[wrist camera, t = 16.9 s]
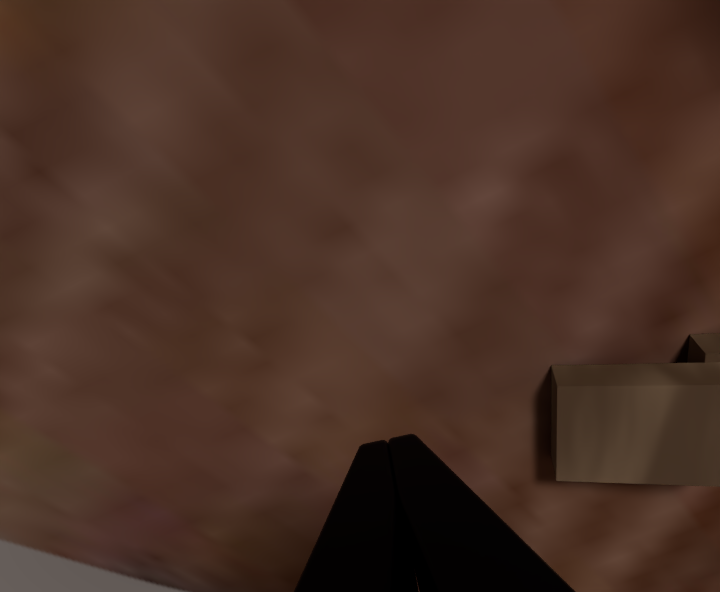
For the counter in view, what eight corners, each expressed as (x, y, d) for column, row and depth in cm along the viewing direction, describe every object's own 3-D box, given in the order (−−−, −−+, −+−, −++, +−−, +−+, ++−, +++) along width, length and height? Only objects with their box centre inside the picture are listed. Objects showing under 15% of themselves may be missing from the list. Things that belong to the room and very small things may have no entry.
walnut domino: (551, 365, 21) (766, 361, 19) (550, 455, 23) (746, 460, 21) (557, 386, 20) (790, 384, 18) (556, 480, 22) (766, 488, 20)
